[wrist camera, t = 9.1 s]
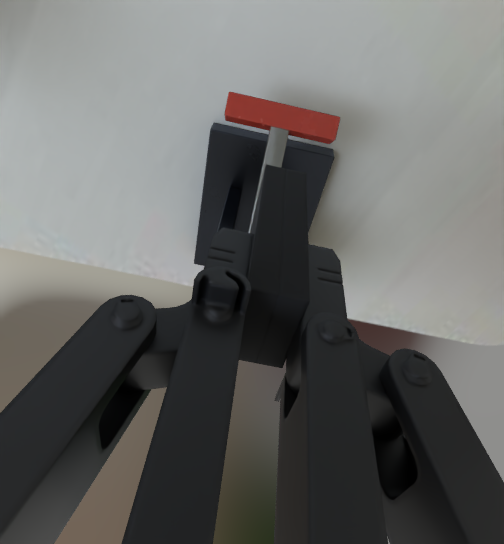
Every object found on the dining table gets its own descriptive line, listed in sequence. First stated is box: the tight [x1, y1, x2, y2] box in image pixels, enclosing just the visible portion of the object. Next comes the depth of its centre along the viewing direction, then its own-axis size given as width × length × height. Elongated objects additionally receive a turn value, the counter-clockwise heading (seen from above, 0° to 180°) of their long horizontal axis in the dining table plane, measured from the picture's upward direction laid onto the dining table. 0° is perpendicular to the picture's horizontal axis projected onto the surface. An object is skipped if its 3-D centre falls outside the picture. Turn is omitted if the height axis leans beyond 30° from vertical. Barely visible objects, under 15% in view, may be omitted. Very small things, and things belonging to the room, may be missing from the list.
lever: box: [225, 92, 340, 233], centre depth 24 cm, size 13×6×2 cm
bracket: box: [194, 123, 334, 266], centre depth 28 cm, size 12×9×13 cm
